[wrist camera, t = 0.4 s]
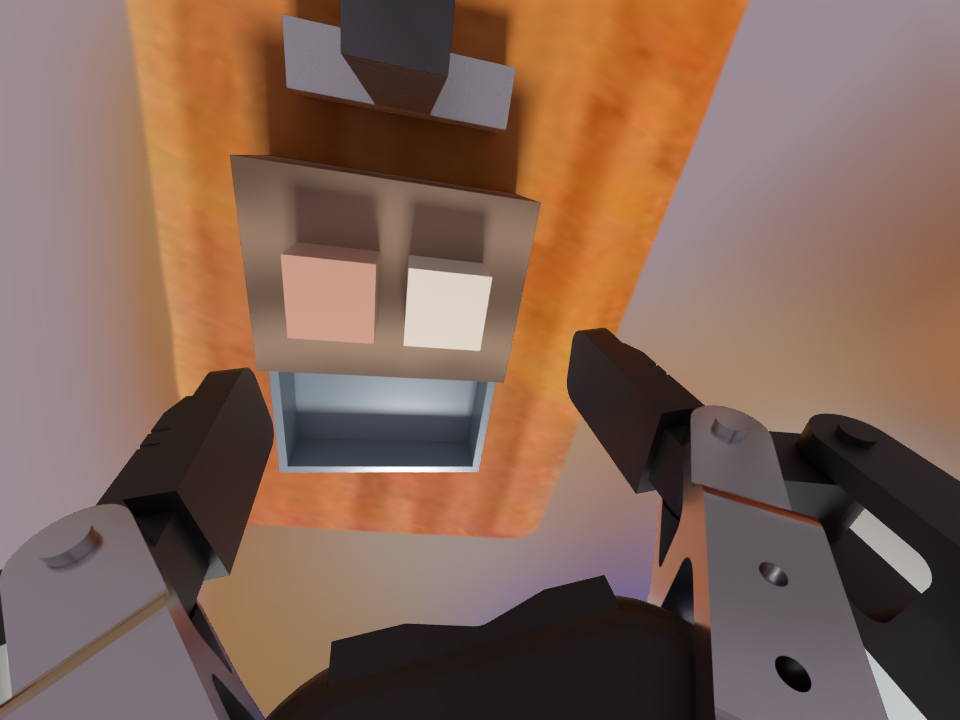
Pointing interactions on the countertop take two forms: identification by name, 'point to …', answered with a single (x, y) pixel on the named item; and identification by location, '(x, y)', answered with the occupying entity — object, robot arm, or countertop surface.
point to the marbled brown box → (396, 234)
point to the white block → (445, 303)
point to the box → (378, 423)
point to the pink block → (331, 292)
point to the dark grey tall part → (396, 64)
